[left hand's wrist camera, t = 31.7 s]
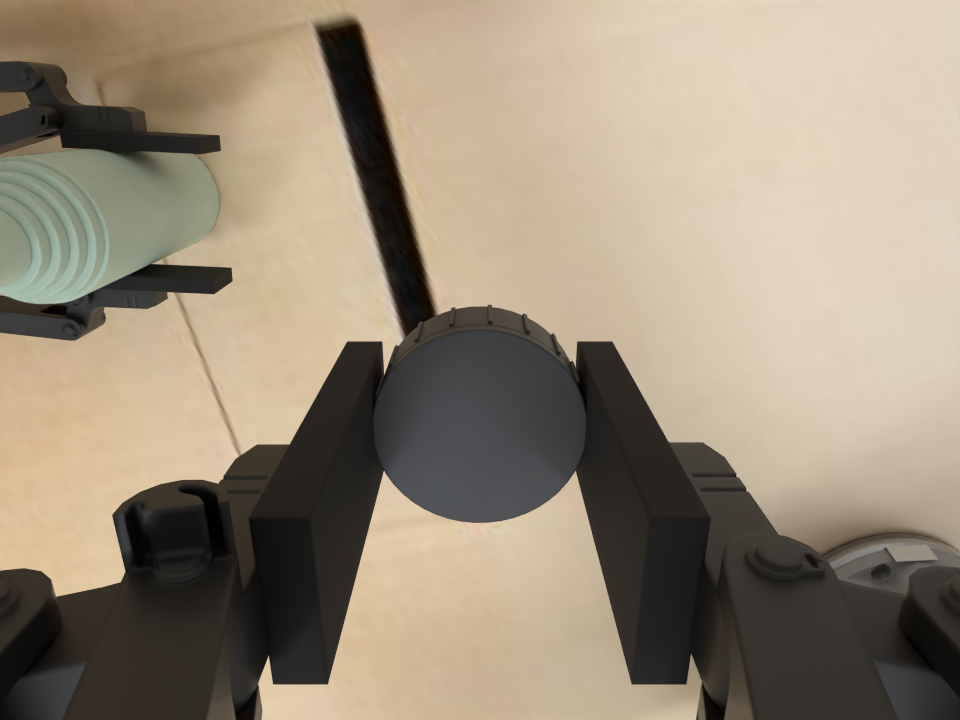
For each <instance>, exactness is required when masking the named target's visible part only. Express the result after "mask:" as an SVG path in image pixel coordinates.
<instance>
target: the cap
mask: <svg viewBox="0 0 960 720" xmlns="http://www.w3.org/2000/svg"><path fill="white" fill-rule="evenodd" d="M579 384H581V382H580V379H579V376H578V373H577V371H576V368H575V365H574V363H573V361H571V362H570V361H569V358H568V357H567V355H566V353H565V352H564V350H563V348H562V347H561V346H560V344H559V343H558V342H557V339H556V336H555V335H554V334H550V333H548V332H547V331H546V330H545V329H544V328H542V327H541V326H540V325H538V324H537V323H536V322H534V321H532V320H530V319H528V318H527V315H526V314H523V315H520V314H517V313H515V312H512V311H508V310H504V309H500V308H493V307H492V305H488V307H466V308H459V309H455V307H454V308H451V311H448V312H445V313H442V314H440V315H437V316H435V317H433V318H431V319H429V320H428V321H426V322H424V323H423V322H422V321H421V322H420V323H419V324H418V327H417V328H416V329H414V330H413V331H412V332H411V333H410V334H409V335H408V336H407V337H406V338H405V339H404V340H403V341H402V342H401V344H400V345H399V346H397V345H396V346H395V347H394V350H393V353H392V356H391V358H390V361H389V364H388V367H387V370H386V372H385V375H382V378H381V381H380V383H379V386H378V389H377V392H376V395H375V399H376V401H375V405H374V410H373V424H374V440H375V451H376V454H377V456H378V459H379V462H380V464H381V466H382V467H383V469H384V471H385V473H386V475H387V476H388V477H389V479H390V480H391V481H392V483H393V484H394V485H395V486H396V487H397V488H398V489H399V490H400V491H401V492H402V494H404V495H405V496H406V497H407V498H409V499H410V500H411V501H412V502H414V503H415V504H417V505H419V506H420V507H422V508H423V509H425V510H427V511H430V512H432V513H434V514H436V515H439V516H442V517H445V518H448V519H452V520H457V521H462V522H472V523H488V522H496V521H503V520H507V519H511V518H515V517H518V516H520V515H523V514H526V513H528V512H530V511H532V510H534V509H536V508H538V507H540V506H541V505H543V504H544V503H546V502H547V501H549V500H550V499H551V498H552V497H553V496H555V495H556V494H557V493H558V492H559V491H560V490H561V489H562V488H563V487H564V486H565V485H566V483H567V482H568V481H569V479H570V478H571V477H572V475H573V474H574V472H575V470H576V468H577V467H578V465H579V463H580V461H581V458H582V455H583V452H584V447H585V433H586V416H587V411H586V407H585V403H584V399H583V396H582V393H581V390H580V388H579Z"/></svg>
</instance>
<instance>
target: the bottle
mask: <svg viewBox="0 0 960 720" xmlns="http://www.w3.org/2000/svg"><path fill="white" fill-rule="evenodd" d="M218 213H219V193H218V189H217V186H216V183H215V180H214V178H213V176H212V174H211V173H210V171H209V170H208V168H207V167H206V166H205V164H204V163H203V162H202V161H201V160H200V159H199V158H198V157H197V156H196V155H194V154H185V153H164V152H143V151H122V150H101V149H80V150H70V151H60V152H51V153H41V154H32V155H22V156H13V157H4V158H0V294H2V295H5V296H7V297H10V298H13V299H16V300H19V301H23V302H27V303H34V304H56V303H65V302H69V301H73V300H75V299H77V298H80V297H82V296H84V295H86V294H88V293H91V292H93V291H95V290H97V289H99V288H101V287H103V286H105V285H107V284H110V283H112V282H114V281H116V280H118V279H120V278H122V277H124V276H126V275H129V274H131V273H133V272H135V271H137V270H139V269H141V268H143V267H145V266H148V265H150V264H152V263H154V262H156V261H158V260H160V259H162V258H164V257H167V256H169V255H171V254H173V253H175V252H177V251H179V250H181V249H183V248H186V247H188V246H190V245H192V244H194V243H196V242H198V241H200V240H201V239H203V238H204V237H205V236H206V235H207V234H208V233H209V232H210V231H211V229H212V228H213V226H214V224H215V222H216V220H217V216H218Z"/></svg>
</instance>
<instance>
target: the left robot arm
mask: <svg viewBox="0 0 960 720" xmlns="http://www.w3.org/2000/svg"><path fill="white" fill-rule="evenodd" d="M576 371H577V373H578V376H579V379H580V382H581V384H579V388H580V390H581V393H582V396H583V399H584V403H585V407H586V411H587V416H586V433H585V447H584V452H583V455H582V458H581V461H580V463H579V465H578V467H577V468H576V473H577V477H578V481H579V485H580V488H581V492H582V496H583V500H584V504H585V508H586V511H587V515H588V519H589V523H590V527H591V530H592V534H593V538H594V542H595V546H596V550H597V553H598V557H599V561H600V565H601V569H602V572H603V576H604V580H605V584H606V588H607V592H608V595H609V599H610V603H611V607H612V611H613V614H614V618H615V622H616V626H617V630H618V634H619V637H620V641H621V645H622V649H623V653H624V656H625V660H626V664H627V668H628V672H629V676H630V679H631V683H632V684H686V683H687V676H688V670H689V663H690V656H691V654H692V656H693V659H694V661H695V664H696V667H697V669H698V672H699V674H700V677H701V680H702V686H701V692H700V698H699V704H698V711H697V717H696V720H960V553H959V552H958V551H956V550H955V549H953V548H952V547H950V546H949V545H947V544H945V543H943V542H941V541H938V540H935V539H932V538H929V537H925V536H921V535H914V534H902V533H901V534H883V535H877V536H871V537H867V538H863V539H859V540H856V541H853V542H850V543H848V544H845V545H843V546H841V547H838V548H837V549H835V550H833V551H831V552H829V553H827V554H826V555H824V556H822V555H821V554H819V553H818V552H816V551H815V550H814V549H812V548H811V547H810V546H808V545H806V544H803V543H801V542H799V541H796V540H794V539H792V538H789V537H786V536H781V535H778V533H777V532H776V530H775V529H774V528H773V526H772V525H771V523H770V522H769V520H768V519H767V518H766V516H765V515H764V513H763V512H762V510H761V509H760V507H759V506H758V505H757V503H756V502H755V500H754V499H753V497H752V496H751V494H750V493H749V492H746V487H745V486H744V484H743V483H742V482H741V480H740V479H739V477H736V473H735V471H734V470H733V469H732V467H731V466H730V464H729V463H728V461H727V460H726V459H725V457H724V456H722V455H721V454H719V453H718V452H716V451H715V450H713V449H712V448H710V447H709V446H707V445H706V444H704V443H669V442H668V440H667V439H666V437H665V435H664V433H663V431H662V430H661V428H660V426H659V424H658V423H657V421H656V419H655V417H654V415H653V414H652V412H651V410H650V408H649V406H648V405H647V403H646V401H645V399H644V397H643V396H642V394H641V392H640V390H639V389H638V387H637V385H636V383H635V381H634V380H633V378H632V376H631V374H630V372H629V371H628V369H627V367H626V365H625V364H624V362H623V360H622V358H621V356H620V355H619V353H618V351H617V349H616V347H615V346H614V344H613V342H577V356H576ZM382 375H384V364H383V347H382V342H347V343H346V345H345V347H344V348H343V350H342V352H341V354H340V356H339V357H338V359H337V361H336V363H335V364H334V366H333V368H332V370H331V372H330V373H329V375H328V377H327V379H326V381H325V382H324V384H323V386H322V388H321V389H320V391H319V393H318V395H317V397H316V398H315V400H314V402H313V404H312V406H311V407H310V409H309V411H308V413H307V415H306V416H305V418H304V420H303V422H302V423H301V425H300V427H299V429H298V431H297V432H296V434H295V436H294V438H293V440H292V441H291V443H290V445H256V446H254V447H253V448H251V449H250V450H248V451H247V452H245V453H244V454H242V455H241V456H239V457H238V458H236V459H235V460H234V462H233V463H232V465H231V466H230V468H229V469H228V471H227V472H226V474H225V475H224V479H223V480H221V481H220V482H219V484H217V483H213V482H209V481H205V480H180V481H175V482H170V483H165V484H160V485H157V486H155V487H152V488H150V489H147V490H144V491H142V492H139V493H138V494H136V495H135V496H133V497H131V498H130V499H128V500H127V501H125V502H123V503H122V504H121V505H120V507H119V508H118V509H117V510H116V511H115V512H114V514H113V515H112V516H113V520H114V525H115V529H116V533H117V537H118V542H119V546H120V550H121V554H122V559H123V563H124V567H125V571H126V572H125V574H124V577H123V579H122V581H121V582H120V583H117V584H113V585H109V586H106V587H102V588H97V589H92V590H87V591H82V592H78V593H73V594H68V595H63V596H58V597H56V595H55V592H54V588H53V585H52V581H51V579H50V578H49V577H47V576H46V575H45V574H44V573H43V572H41V571H36V570H30V569H25V568H23V569H13V570H3V571H0V720H261V719H262V705H261V698H260V692H259V686H258V682H259V679H260V677H261V674H262V671H263V669H264V666H265V664H266V661H267V658H268V656H269V659H270V666H271V673H272V679H273V684H328V681H329V678H330V674H331V670H332V666H333V662H334V659H335V655H336V651H337V647H338V643H339V639H340V636H341V632H342V628H343V624H344V620H345V617H346V613H347V609H348V605H349V601H350V597H351V594H352V590H353V586H354V582H355V578H356V575H357V571H358V567H359V563H360V559H361V556H362V552H363V548H364V544H365V540H366V536H367V533H368V529H369V525H370V521H371V517H372V514H373V510H374V506H375V502H376V498H377V494H378V491H379V487H380V483H381V479H382V475H383V472H384V469H383V467H382V466H381V464H380V462H379V459H378V456H377V454H376V451H375V440H374V424H373V410H374V405H375V401H376V399H375V395H376V392H377V389H378V386H379V383H380V381H381V378H382Z"/></svg>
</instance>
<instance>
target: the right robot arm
mask: <svg viewBox="0 0 960 720" xmlns="http://www.w3.org/2000/svg"><path fill="white" fill-rule="evenodd" d="M66 84H67V77H66V74H65V72H64V71H63V70H62V69H61V68H60V67H58V66H57V65H51V64H42V63H32V62H21V61H14V62H0V93H8V92H25V93H26V95H27V97H28V99H29V101H30V102H31V104H28V105H29V108H26V109H23V110H19V111H16V112H13V113H10V114H7V115H4V116H1V117H0V154H2V153H5V152H8V151H11V150H14V149H18V148H21V147H24V146H27V145H31V144H34V143H37V142H40V141H43V140H47V139H50V138H53V137H56V136H59V135H60V137H61V143H62V148H80V149H101V150H122V151H143V152H164V153H185V154H204V153H210V152H216V151H221V148H220V137H219V135H201V134H180V133H159V132H147V128H146V121H145V113H144V112H143V111H141V110H138V109H136V108H134V107H114V106H93V105H83V104H80V103H78V102H77V101H75V100H74V99H73V98H72V97H71V95H70V93H69V91H68V89H67V87H66ZM231 282H232V269H231V268H224V267H203V266H181V265H159V264H150V265H148V266H145V267H143V268H141V269H139V270H137V271H135V272H133V273H131V274H129V275H126V276H124V277H122V278H120V279H118V280H116V281H114V282H112V283H110V284H107V285H105V286H103V287H101V288H99V289H97V290H95V291H93V292H91V293H88V294H86V295H84V296H82V297H80V298H77V299H75V300H73V301H69V302H65V303H56V304H34V303H27V302H23V301H19V300H16V299H13V298H10V297H7V296H1V295H0V333H8V334H17V335H26V336H35V337H44V338H53V339H62V340H71V341H72V340H77V339H79V338H80V337H82V336H84V335H86V334H88V333H89V332H91V331H93V330H95V329H96V328H98V327H100V326H101V325H103V324H104V323H105V320H106V317H105V313H104V312H103V311H104V307H117V308H140V309H148V308H151V307H154V306H156V305H158V304H159V303H161V302H163V301H164V300H166V299H168V296H167V292H179V293H201V294H215V293H216V292H218V291H219V290H221V289H222V288H223V287H225V286H226V285H228V284H229V283H231Z"/></svg>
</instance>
